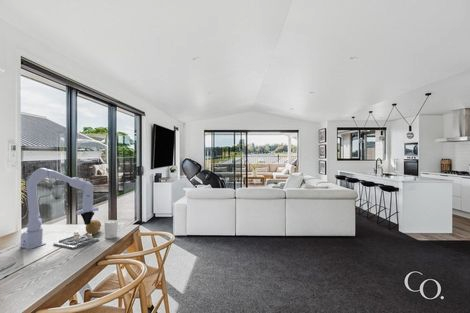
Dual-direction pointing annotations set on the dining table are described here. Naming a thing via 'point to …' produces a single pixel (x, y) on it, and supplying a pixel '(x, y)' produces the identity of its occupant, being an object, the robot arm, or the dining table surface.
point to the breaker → (76, 237)
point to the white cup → (111, 228)
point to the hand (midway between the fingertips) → (87, 224)
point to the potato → (93, 227)
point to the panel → (76, 244)
